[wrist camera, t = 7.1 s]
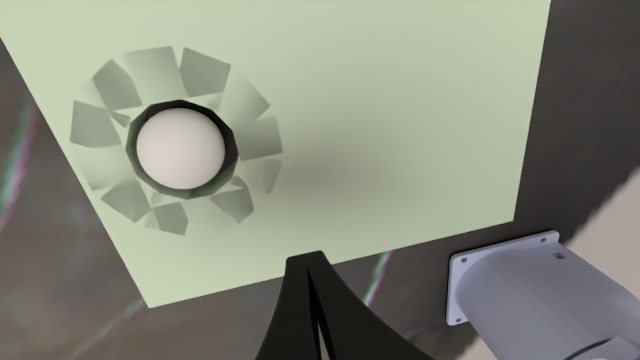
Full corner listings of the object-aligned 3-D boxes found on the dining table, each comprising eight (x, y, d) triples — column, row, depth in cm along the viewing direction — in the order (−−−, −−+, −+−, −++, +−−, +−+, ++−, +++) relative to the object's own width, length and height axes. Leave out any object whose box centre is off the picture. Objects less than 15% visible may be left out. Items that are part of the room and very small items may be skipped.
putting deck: (527, -108, 15) (573, -133, 13) (488, 202, 23) (512, 220, 21) (-1, -47, 13) (-55, -64, 10) (160, 278, 21) (149, 308, 18)
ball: (192, 124, 18) (249, 134, 17) (168, 188, 18) (225, 204, 16) (136, 88, 15) (202, 96, 13) (102, 167, 14) (168, 184, 13)
